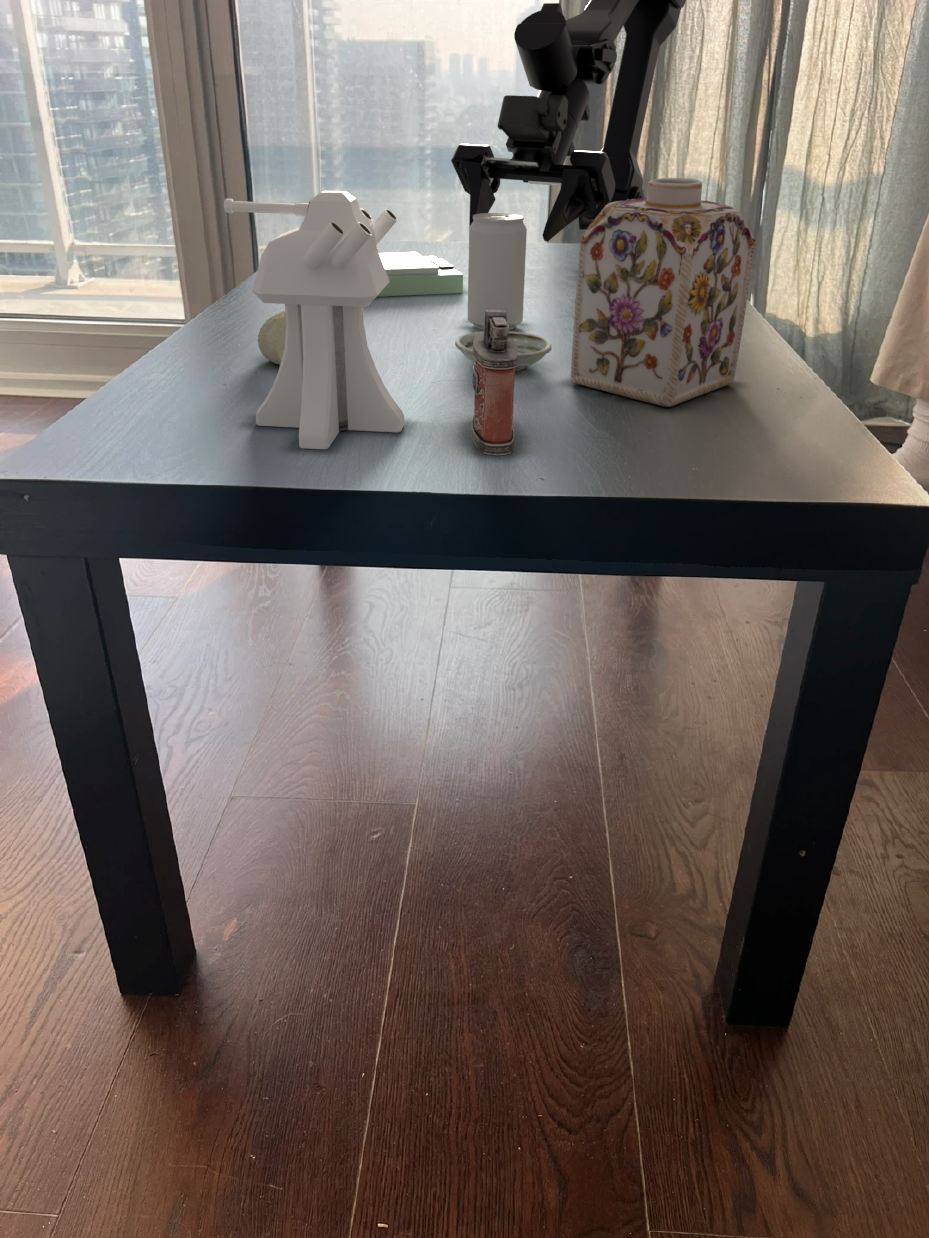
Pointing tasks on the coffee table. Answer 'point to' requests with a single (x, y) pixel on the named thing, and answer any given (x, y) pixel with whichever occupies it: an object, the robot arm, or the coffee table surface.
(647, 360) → the decorative jar
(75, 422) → the coffee table surface
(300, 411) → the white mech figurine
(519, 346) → the saucer
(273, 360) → the sea urchin shell
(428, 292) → the scale
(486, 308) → the beverage can
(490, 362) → the lighter
